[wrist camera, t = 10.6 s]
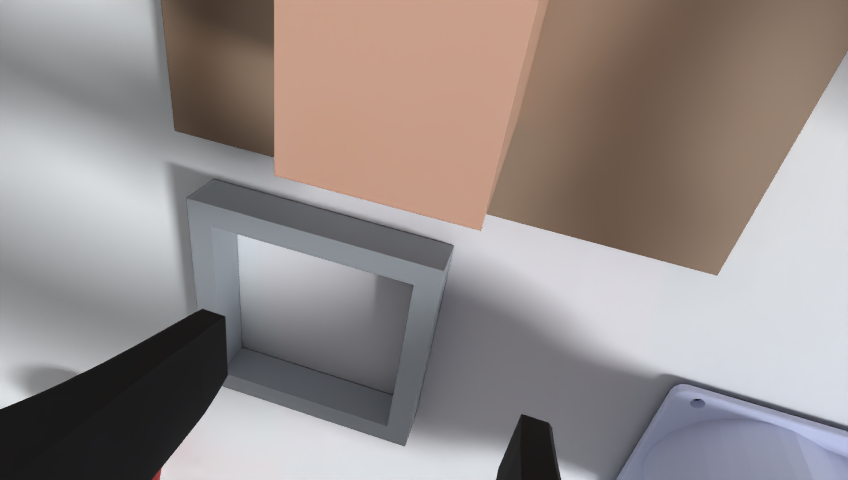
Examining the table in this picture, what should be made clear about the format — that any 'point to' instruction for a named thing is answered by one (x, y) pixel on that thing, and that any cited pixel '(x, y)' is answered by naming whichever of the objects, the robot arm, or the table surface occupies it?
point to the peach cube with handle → (402, 98)
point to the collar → (331, 240)
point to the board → (586, 110)
